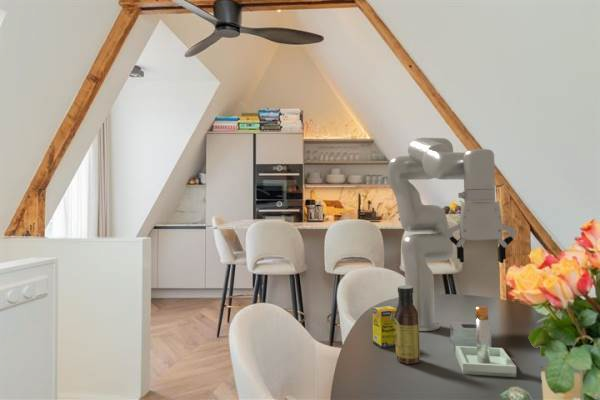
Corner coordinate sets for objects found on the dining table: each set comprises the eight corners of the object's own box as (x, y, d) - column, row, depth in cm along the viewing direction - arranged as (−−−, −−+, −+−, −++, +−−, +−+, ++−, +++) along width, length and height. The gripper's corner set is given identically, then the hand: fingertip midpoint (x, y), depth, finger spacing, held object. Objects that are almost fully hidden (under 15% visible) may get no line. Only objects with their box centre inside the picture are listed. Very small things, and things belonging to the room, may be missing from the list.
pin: (478, 363, 110) (476, 308, 111) (476, 359, 113) (474, 305, 114) (491, 364, 109) (488, 308, 110) (488, 360, 112) (486, 305, 113)
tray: (463, 373, 106) (462, 363, 106) (455, 354, 119) (455, 345, 119) (516, 377, 103) (516, 366, 103) (502, 357, 117) (502, 348, 117)
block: (453, 350, 123) (453, 329, 123) (450, 341, 131) (450, 321, 131) (491, 352, 121) (490, 330, 121) (485, 343, 129) (485, 323, 129)
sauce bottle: (402, 355, 120) (400, 283, 120) (424, 360, 116) (422, 285, 116) (391, 362, 115) (389, 287, 115) (413, 367, 111) (411, 289, 111)
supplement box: (381, 349, 126) (380, 311, 126) (372, 343, 132) (371, 306, 132) (400, 347, 127) (399, 309, 128) (390, 341, 133) (389, 305, 133)
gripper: (446, 197, 112) (447, 263, 112) (519, 195, 108) (520, 264, 108) (443, 197, 119) (445, 259, 119) (511, 196, 115) (513, 260, 115)
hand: (481, 262), depth 113 cm, fingers open, 9 cm apart
